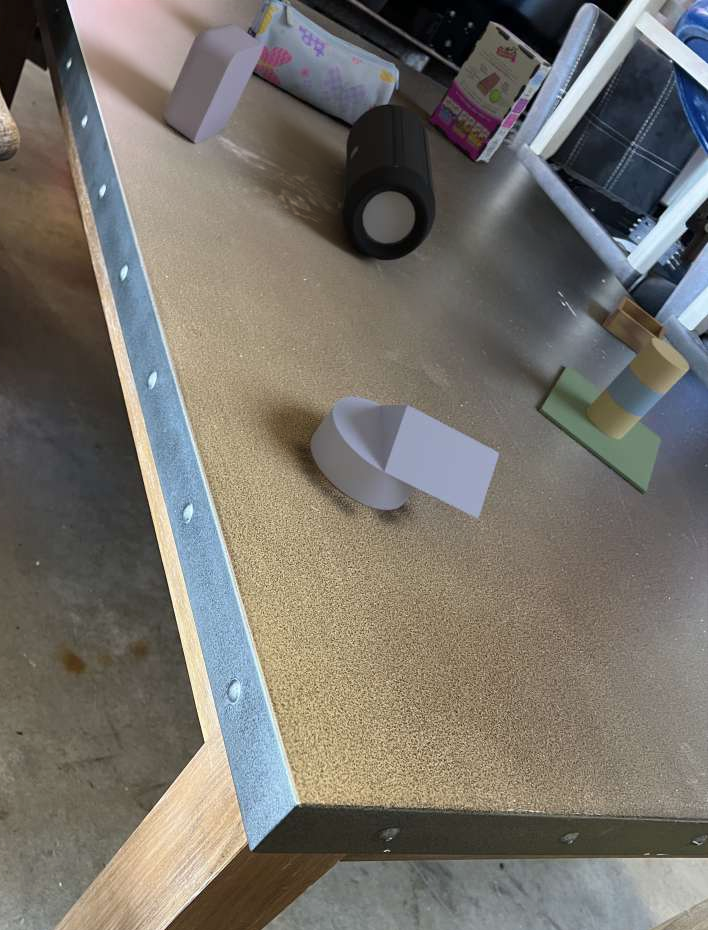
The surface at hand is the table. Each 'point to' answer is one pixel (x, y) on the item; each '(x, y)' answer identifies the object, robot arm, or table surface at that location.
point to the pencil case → (319, 64)
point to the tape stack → (637, 388)
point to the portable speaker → (388, 183)
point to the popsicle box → (489, 92)
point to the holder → (633, 325)
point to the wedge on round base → (400, 456)
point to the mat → (622, 455)
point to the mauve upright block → (212, 81)
